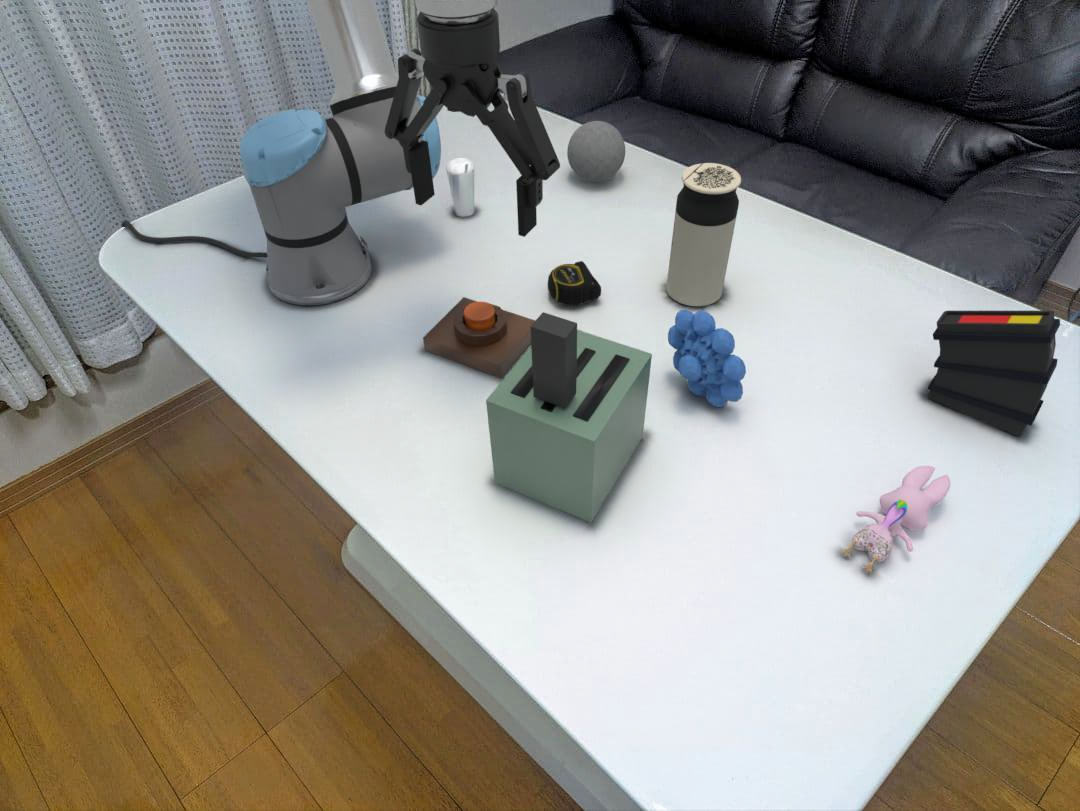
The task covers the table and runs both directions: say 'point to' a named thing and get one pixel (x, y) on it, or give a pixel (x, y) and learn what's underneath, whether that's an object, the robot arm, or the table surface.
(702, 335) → the grapes
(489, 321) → the button
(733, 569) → the table surface
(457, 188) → the milkshake
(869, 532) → the rabbit figure
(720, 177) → the travel mug
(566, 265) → the tape measure
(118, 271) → the table surface
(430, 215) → the table surface
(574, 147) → the decorative ball
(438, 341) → the button block
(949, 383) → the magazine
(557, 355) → the slider
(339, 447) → the table surface
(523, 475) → the toaster
